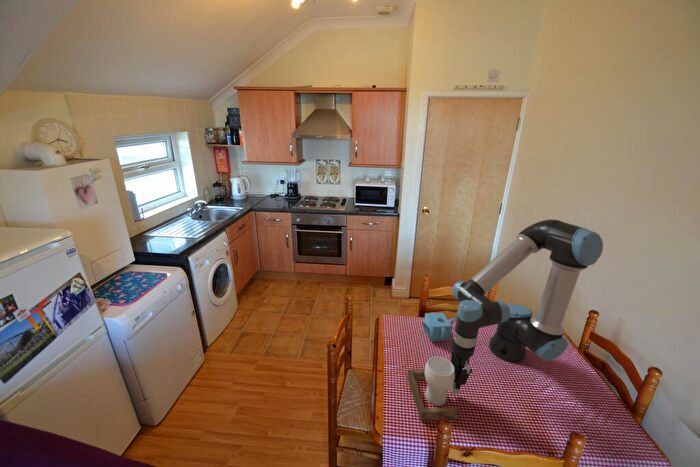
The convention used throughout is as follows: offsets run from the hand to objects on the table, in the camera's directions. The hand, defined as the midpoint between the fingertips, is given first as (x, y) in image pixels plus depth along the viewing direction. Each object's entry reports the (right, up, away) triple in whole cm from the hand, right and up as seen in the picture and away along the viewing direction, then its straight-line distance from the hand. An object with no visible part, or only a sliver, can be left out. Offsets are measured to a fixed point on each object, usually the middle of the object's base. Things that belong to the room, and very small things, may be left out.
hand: (454, 392), depth 114 cm
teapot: (+3, +10, +33) cm, 34 cm away
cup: (-7, -2, 0) cm, 8 cm away
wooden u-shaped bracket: (-8, -2, 0) cm, 9 cm away
